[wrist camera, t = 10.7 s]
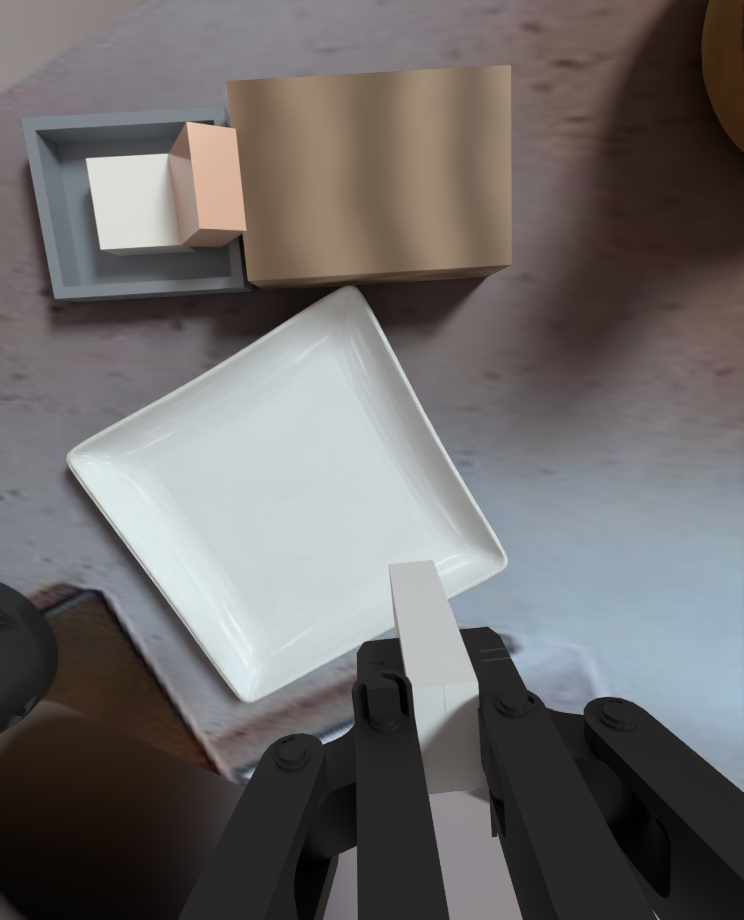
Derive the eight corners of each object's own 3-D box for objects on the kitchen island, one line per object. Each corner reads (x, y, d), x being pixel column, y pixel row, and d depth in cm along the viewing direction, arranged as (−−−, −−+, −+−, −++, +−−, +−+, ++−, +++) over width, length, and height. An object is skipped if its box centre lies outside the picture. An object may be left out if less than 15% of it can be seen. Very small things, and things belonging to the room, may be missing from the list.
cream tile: (183, 244, 38) (196, 251, 41) (172, 153, 37) (185, 167, 40) (100, 249, 38) (118, 256, 41) (85, 158, 37) (105, 171, 40)
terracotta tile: (221, 247, 40) (180, 246, 38) (211, 159, 38) (168, 154, 37) (246, 230, 35) (199, 228, 33) (235, 128, 33) (186, 121, 32)
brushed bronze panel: (265, 290, 43) (247, 281, 36) (248, 125, 40) (226, 81, 33) (487, 277, 43) (511, 264, 36) (484, 111, 40) (510, 64, 33)
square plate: (80, 447, 46) (55, 457, 42) (355, 283, 43) (355, 277, 39) (250, 686, 51) (242, 713, 47) (503, 551, 49) (515, 569, 45)
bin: (78, 302, 43) (54, 298, 39) (49, 137, 40) (21, 118, 36) (253, 291, 43) (244, 287, 39) (235, 126, 40) (224, 106, 37)
